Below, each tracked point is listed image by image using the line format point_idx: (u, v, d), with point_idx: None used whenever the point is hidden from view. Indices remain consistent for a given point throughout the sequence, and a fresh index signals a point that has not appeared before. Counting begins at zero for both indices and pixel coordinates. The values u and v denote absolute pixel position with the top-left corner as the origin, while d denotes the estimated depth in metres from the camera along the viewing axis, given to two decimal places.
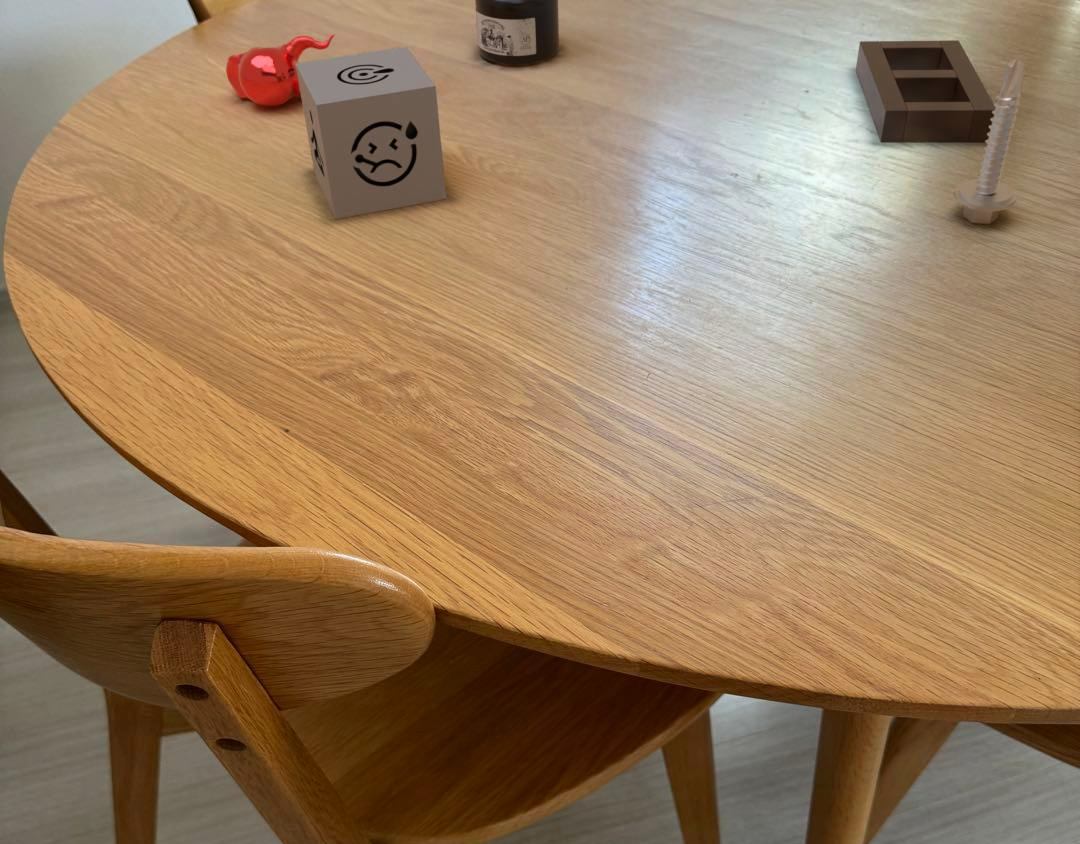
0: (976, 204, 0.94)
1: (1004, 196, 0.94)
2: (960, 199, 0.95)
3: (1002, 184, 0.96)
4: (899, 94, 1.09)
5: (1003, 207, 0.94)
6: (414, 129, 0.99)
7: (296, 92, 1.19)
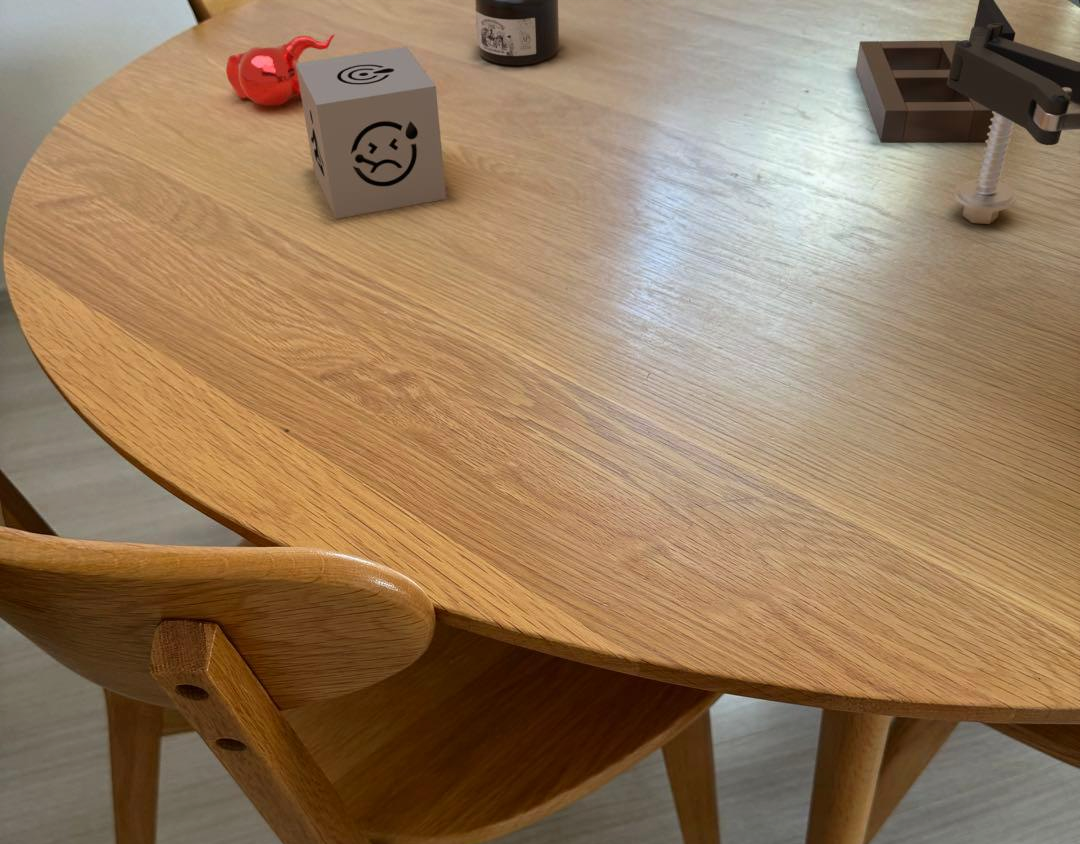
0: (976, 204, 0.94)
1: (1004, 196, 0.94)
2: (960, 199, 0.95)
3: (1002, 184, 0.96)
4: (899, 94, 1.09)
5: (1003, 207, 0.94)
6: (414, 129, 0.99)
7: (296, 92, 1.19)
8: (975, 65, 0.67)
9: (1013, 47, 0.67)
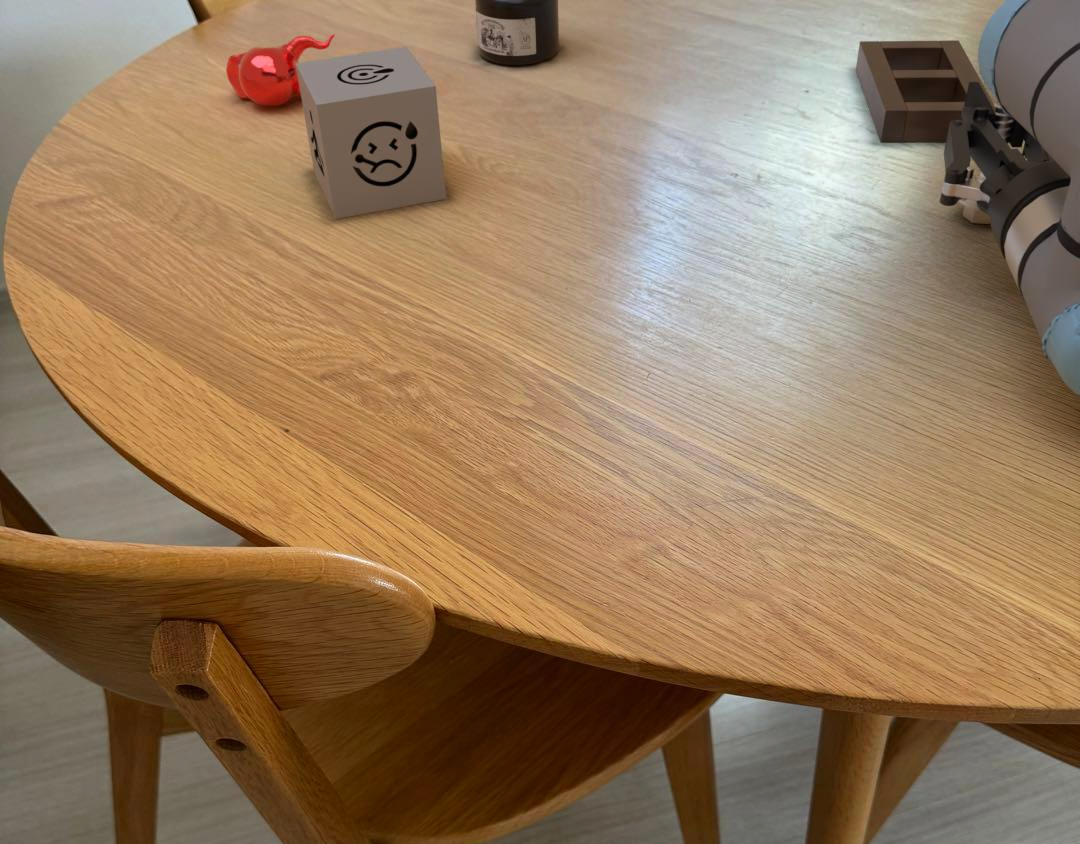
0: (976, 204, 0.94)
1: None
2: None
3: None
4: (899, 94, 1.09)
5: None
6: (414, 129, 0.99)
7: (296, 92, 1.19)
8: (949, 139, 0.88)
9: (983, 127, 0.89)
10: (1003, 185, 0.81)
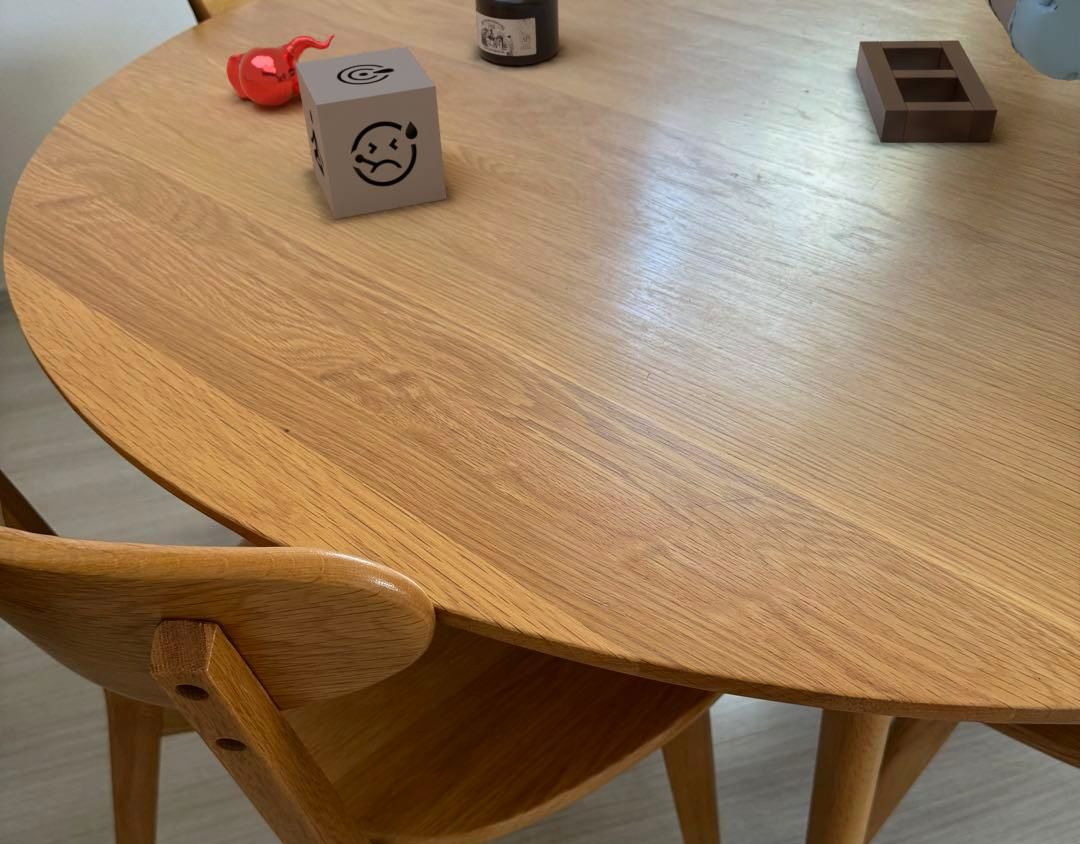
0: None
1: None
2: None
3: None
4: (899, 94, 1.09)
5: None
6: (414, 129, 0.99)
7: (296, 92, 1.19)
8: None
9: None
10: None
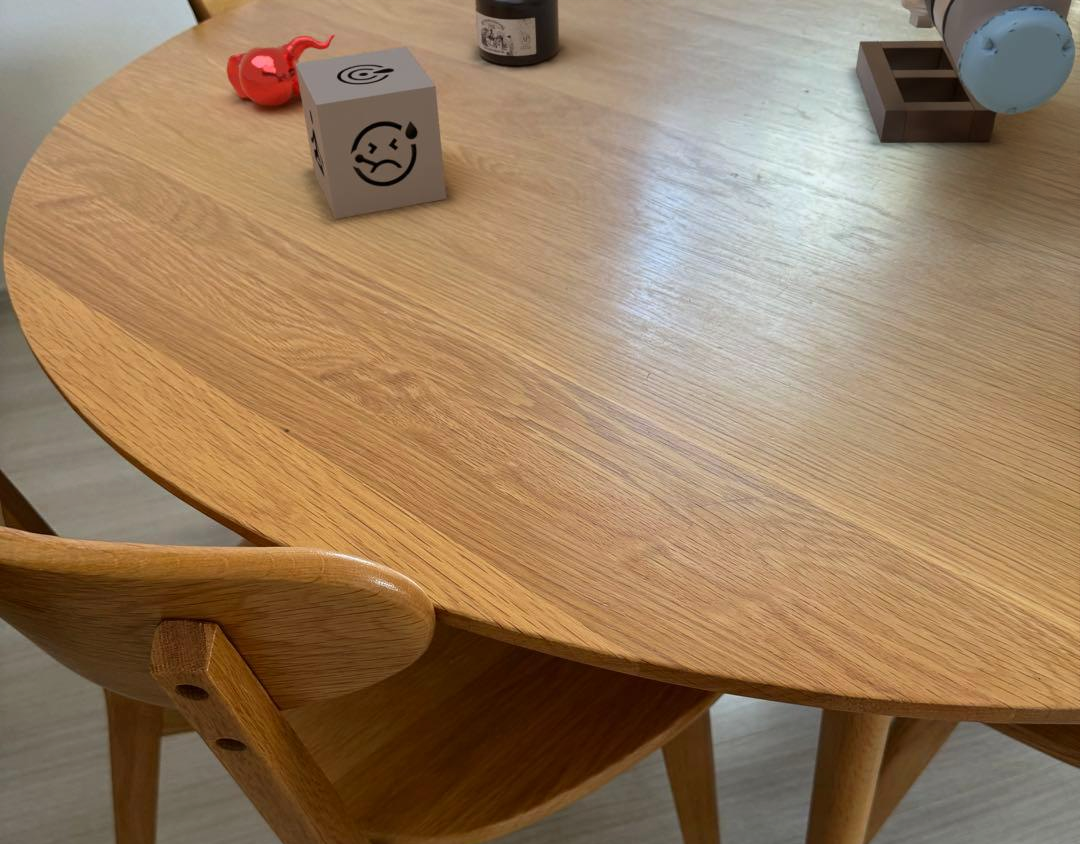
0: (919, 8, 1.10)
1: None
2: (906, 5, 1.11)
3: None
4: (899, 94, 1.09)
5: None
6: (414, 129, 0.99)
7: (296, 92, 1.19)
8: None
9: None
10: None
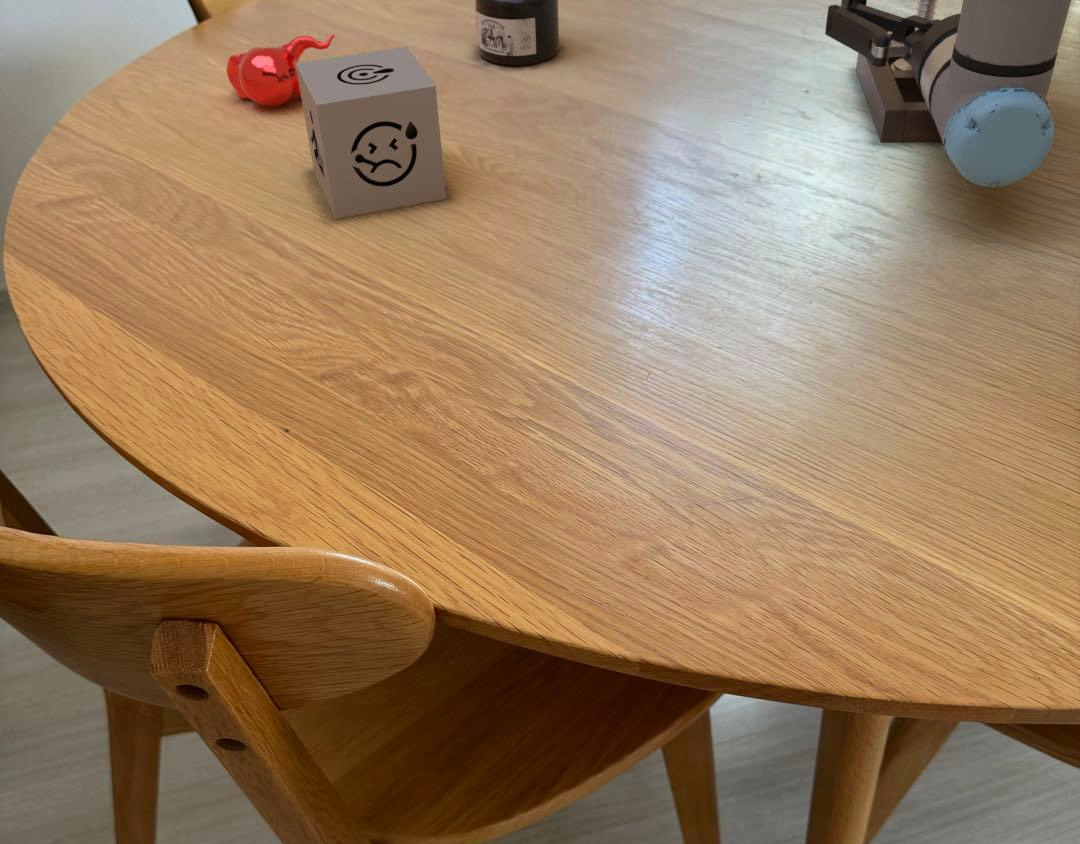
0: None
1: None
2: None
3: None
4: (899, 94, 1.09)
5: None
6: (414, 129, 0.99)
7: (296, 92, 1.19)
8: (839, 20, 1.07)
9: (863, 8, 1.08)
10: (922, 38, 1.02)
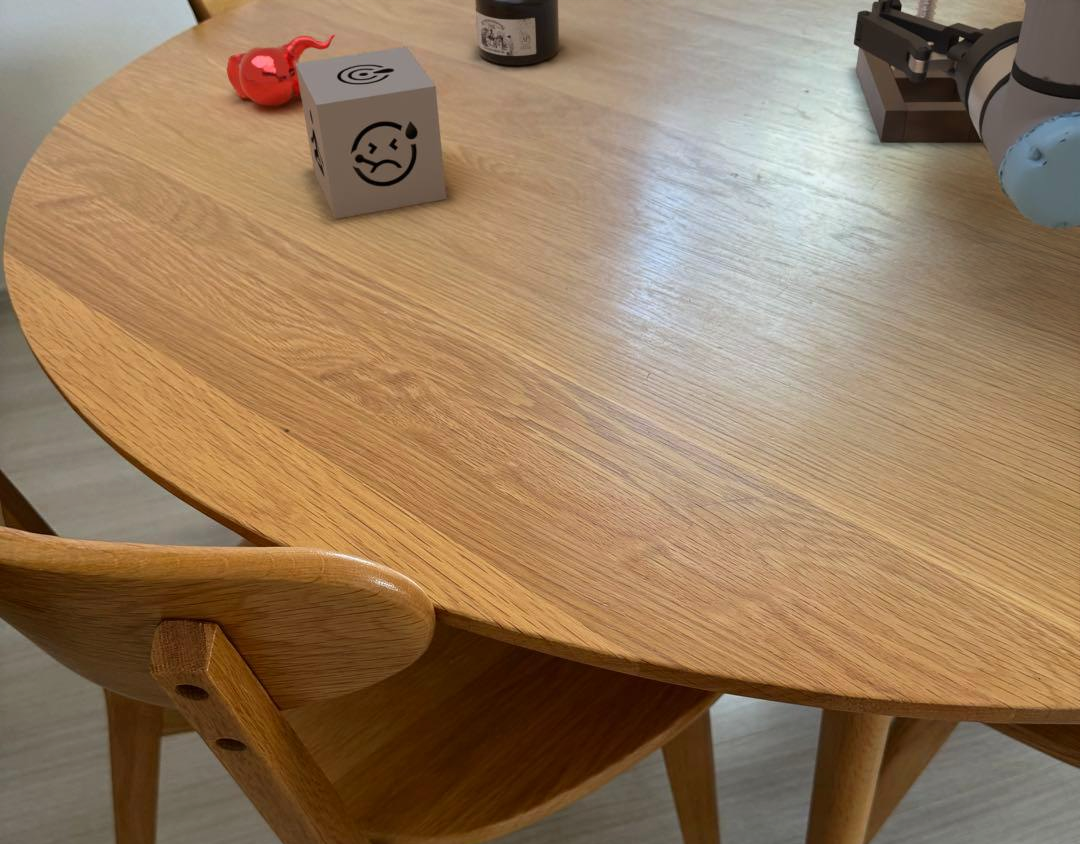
0: None
1: None
2: None
3: None
4: (899, 94, 1.09)
5: None
6: (414, 129, 0.99)
7: (297, 92, 1.19)
8: (870, 28, 0.93)
9: (898, 15, 0.93)
10: (968, 50, 0.88)
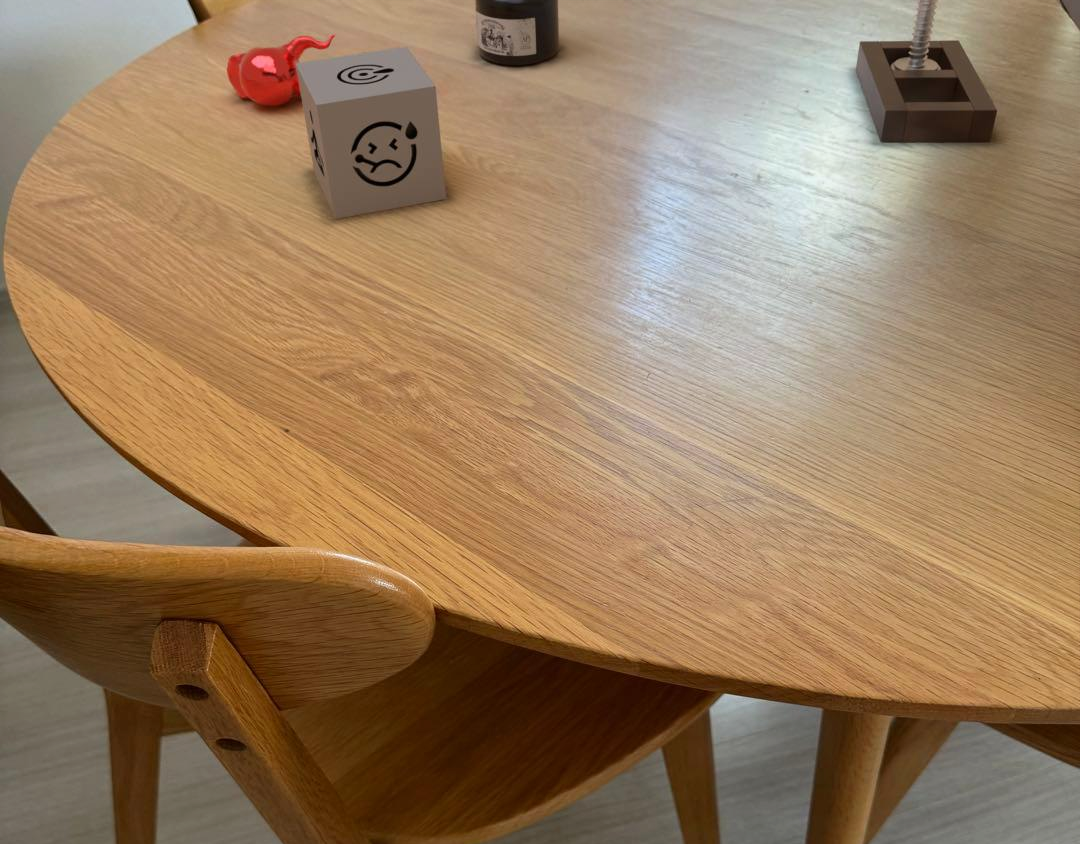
0: None
1: (930, 68, 1.15)
2: None
3: (930, 60, 1.16)
4: (899, 94, 1.09)
5: None
6: (414, 129, 0.98)
7: (297, 92, 1.19)
8: None
9: None
10: None
